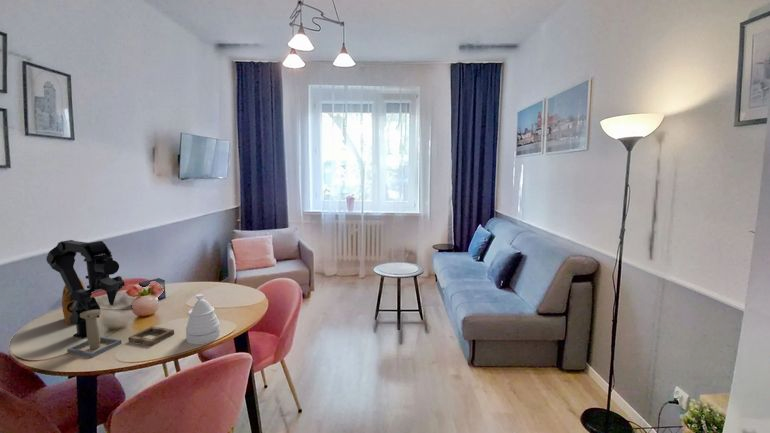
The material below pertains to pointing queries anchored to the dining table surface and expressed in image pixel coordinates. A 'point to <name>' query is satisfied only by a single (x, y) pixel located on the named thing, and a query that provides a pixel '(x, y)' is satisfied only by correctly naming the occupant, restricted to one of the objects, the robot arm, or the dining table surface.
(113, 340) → the frame
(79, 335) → the robot arm
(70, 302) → the coffee package
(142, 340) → the socket stand
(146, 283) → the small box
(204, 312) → the honey pot
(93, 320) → the handle
